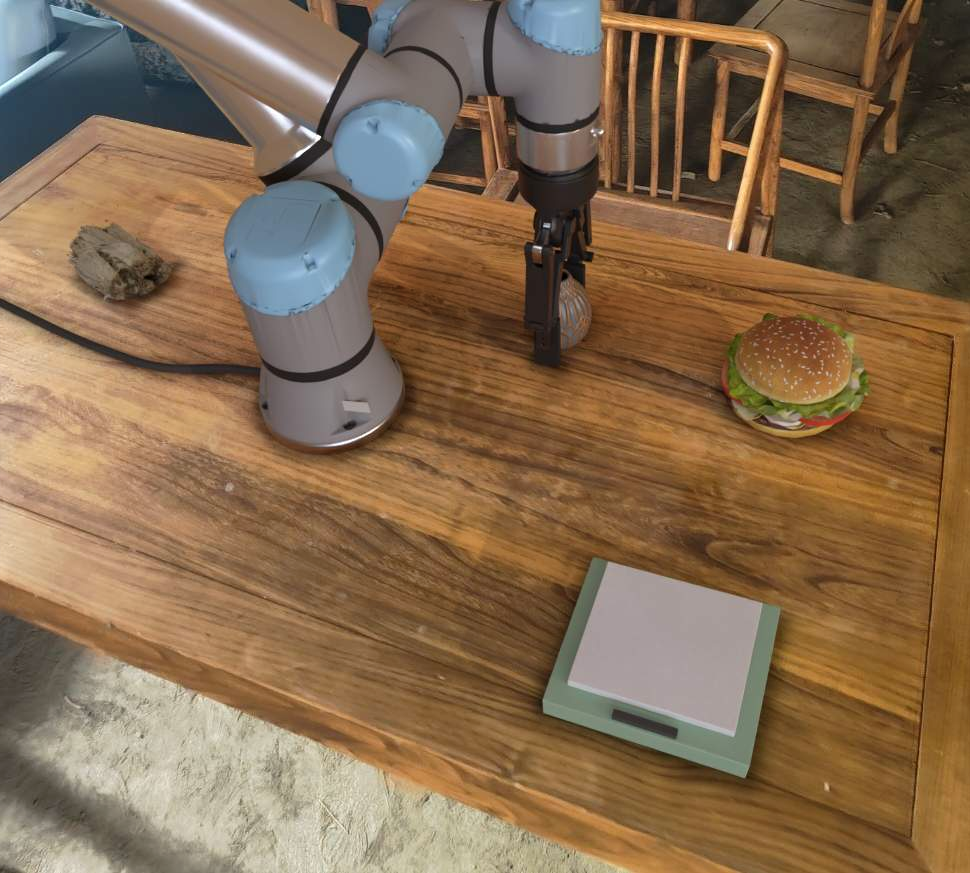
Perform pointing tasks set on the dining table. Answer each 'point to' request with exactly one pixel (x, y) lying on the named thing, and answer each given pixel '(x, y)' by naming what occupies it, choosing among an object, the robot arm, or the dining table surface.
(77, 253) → the grey-brown fibrous clump
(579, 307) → the vase
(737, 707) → the scale
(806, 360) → the food
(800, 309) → the dining table surface
